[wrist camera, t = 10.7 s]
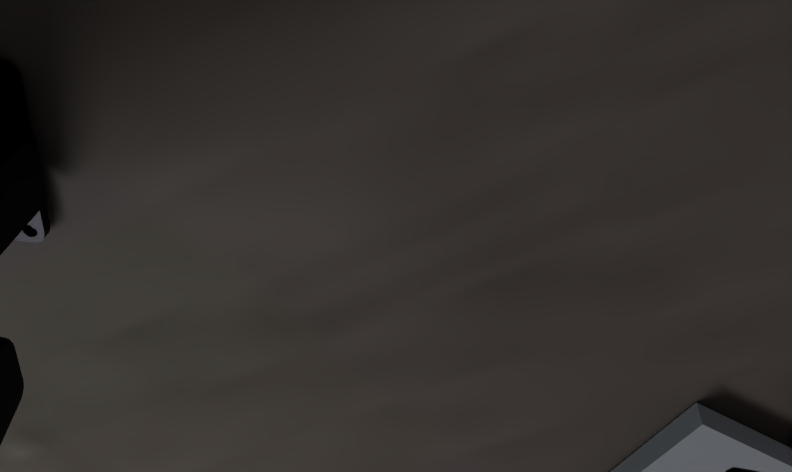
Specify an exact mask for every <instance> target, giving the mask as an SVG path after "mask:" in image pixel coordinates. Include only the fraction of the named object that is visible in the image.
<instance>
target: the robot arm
mask: <svg viewBox="0 0 792 472" xmlns="http://www.w3.org/2000/svg"><path fill="white" fill-rule="evenodd" d="M0 74H1V75H2V76H3V77H4V78H5V80H6V82H5V81H2V80H1V79H0V255H1V254H2V253H3V251H4V250H5V249H6V248H7V247H8V246H9V245H10V244H11V242H12V241H13V240H20V241H25V242H31V243H38V242H41V241H42V240H43V239H44V238H45V237H46V235H47V234H48V233H49V231H50V223H49V218H48V213H47V207H46V203H47V200H48V198H47V193H46V188H45V183H44V177H43V172H42V167H41V162H40V157H39V151H38V146H37V141H36V137H35V136H34V134H33V132H32V130H31V125H30V120H29V114H28V109H27V104H26V99H25V94H24V89H23V83H22V78H21V75H20V72H19V70H18V69H17V68H16V67H15V65H14V64H12V63H11V62H9V61H8V60H5V59H2V58H0ZM30 226H33V227H34V228H35V229H36V230H35V229H33V228H32V227H30ZM23 389H24V383H23V377H22V373H21V370H20V366H19V362H18V358H17V354H16V350H15V347H14V344H13V343H12V342H11V341H10V340H9V339H7V338H4V337H0V445H1V443H2V441H3V438H4V436H5V434H6V432H7V429H8V427H9V425H10V423H11V421H12V418H13V416H14V414H15V412H16V410H17V407H18V405H19V403H20V401H21V398H22V394H23ZM725 472H759V471H754V470H749V469H743V468H737V467H732V468H730V469H728V470H726V471H725Z"/></svg>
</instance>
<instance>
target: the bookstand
mask: <svg viewBox="0 0 792 472" xmlns="http://www.w3.org/2000/svg"><path fill="white" fill-rule="evenodd" d="M732 467H737V468H743V469H749V470H754V471H759V472H792V449H791V448H790V447H788V446H786V445H784V444H782V443H780V442H778V441H776V440H774V439H772V438H770V437H767V436H765V435H763V434H761V433H759V432H757V431H755V430H753V429H751V428H749V427H747V426H745V425H742V424H740V423H738V422H736V421H734V420H732V419H730V418H728V417H726V416H724V415H722V414H720V413H717V412H715V411H713V410H711V409H709V408H707V407H705V406H703V405H701V404H699V403H697V402H696V403H695V404H694V405H692V406H691V407H690V408H689V409H687V410H686V411H685V412H684V413H683V414H681V415H680V416H679V417H678V418H676V419H675V420H674V421H673V422H671V423H670V424H669V425H668V426H666V427H665V428H664V429H663V430H661V431H660V432H659V433H658V434H656V435H655V436H654V437H653V438H651V439H650V440H649V441H648V442H646V443H645V444H644V445H643V446H641V447H640V448H639V449H638V450H636V451H635V452H634V453H633V454H631V455H630V456H629V457H628V458H627V459H625V460H624V461H623V462H622V463H620V464H619V465H618V466H617V467H615V468H614V469H613V470H612V471H610V472H725V471H726V470H728V469H730V468H732Z"/></svg>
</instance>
